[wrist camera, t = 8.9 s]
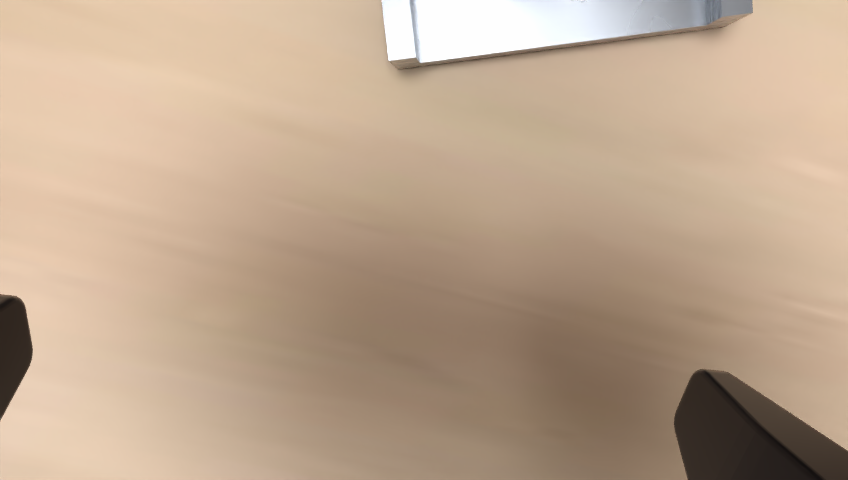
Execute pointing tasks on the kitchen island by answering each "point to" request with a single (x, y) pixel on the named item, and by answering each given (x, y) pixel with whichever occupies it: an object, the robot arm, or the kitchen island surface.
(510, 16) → the cradle
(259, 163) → the kitchen island surface
